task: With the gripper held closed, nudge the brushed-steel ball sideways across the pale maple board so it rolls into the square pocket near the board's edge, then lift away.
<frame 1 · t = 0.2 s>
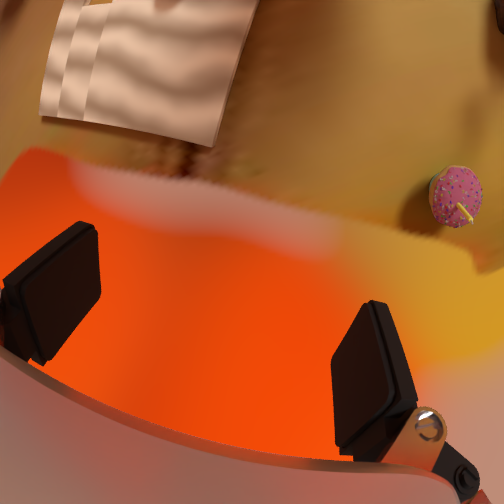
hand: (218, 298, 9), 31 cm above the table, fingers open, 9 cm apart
maple board: (136, 27, 29), on the table
cupcake: (441, 186, 35), on the table
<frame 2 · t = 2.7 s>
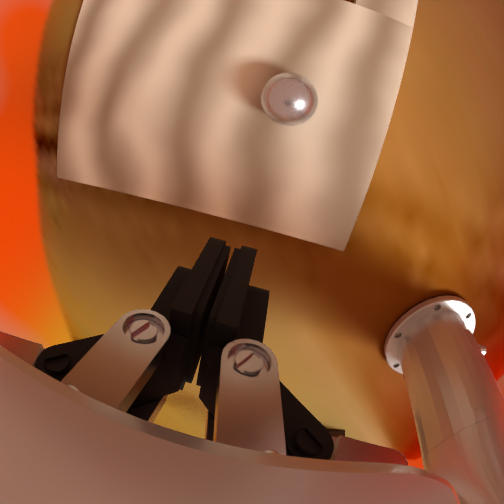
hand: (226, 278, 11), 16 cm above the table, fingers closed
maple board: (221, 31, 19), on the table
steel ball: (289, 99, 18), point 3 cm above the table, touching maple board
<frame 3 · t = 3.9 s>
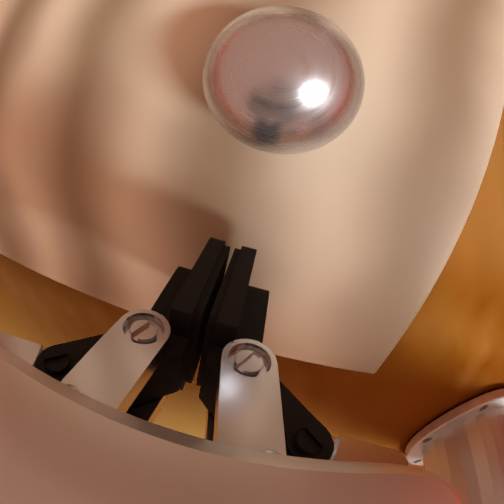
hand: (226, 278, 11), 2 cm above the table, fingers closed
steel ball: (283, 78, 6), point 3 cm above the table, touching maple board
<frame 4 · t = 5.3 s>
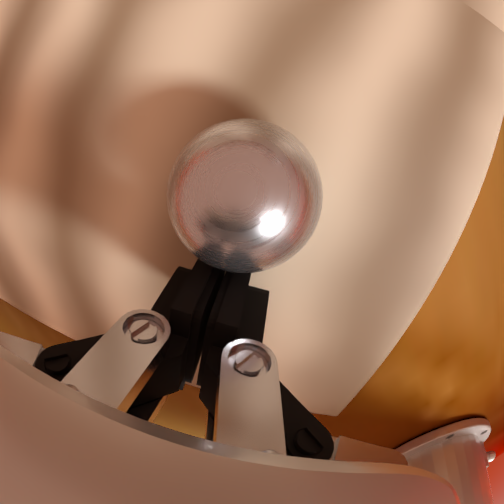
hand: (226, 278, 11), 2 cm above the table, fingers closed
maple board: (117, 42, 9), on the table
steel ball: (244, 195, 8), point 3 cm above the table, tilted 21°, touching maple board
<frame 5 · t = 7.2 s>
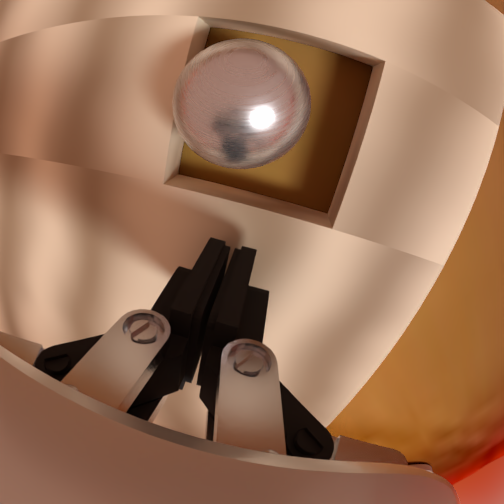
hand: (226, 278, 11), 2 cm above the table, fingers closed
maple board: (96, 254, 13), on the table
steel ball: (241, 102, 8), point 2 cm above the table, tilted 37°
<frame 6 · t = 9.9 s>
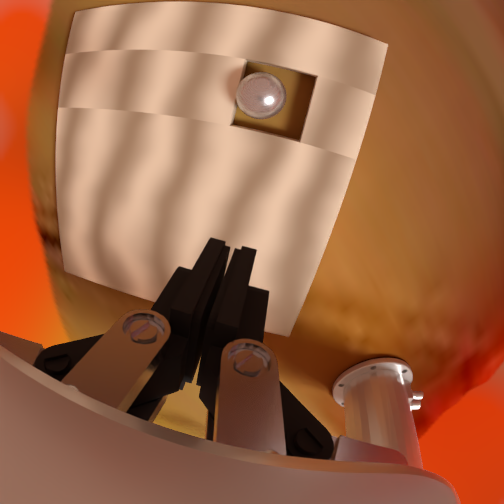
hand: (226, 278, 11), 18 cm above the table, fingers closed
maple board: (181, 167, 27), on the table
steel ball: (261, 95, 21), point 2 cm above the table, tilted 33°
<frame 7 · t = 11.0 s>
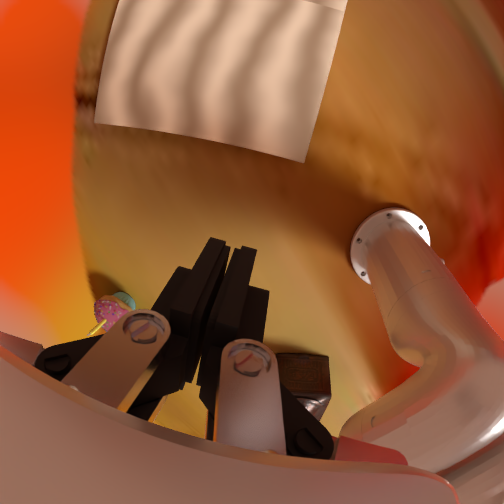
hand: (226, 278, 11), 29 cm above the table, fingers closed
maple board: (217, 22, 28), on the table
coffee grinder: (286, 368, 55), on the table
cupcake: (125, 301, 52), on the table
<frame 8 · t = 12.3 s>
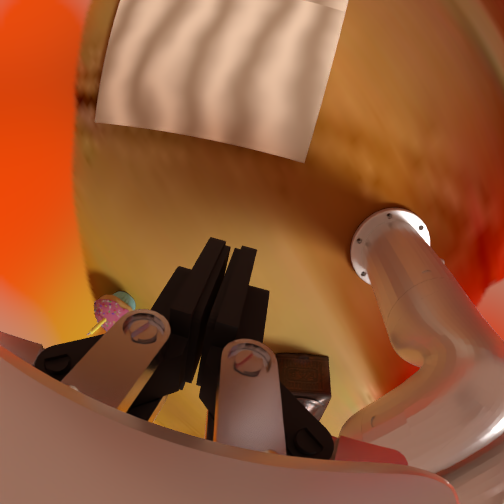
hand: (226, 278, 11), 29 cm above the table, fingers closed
maple board: (218, 22, 28), on the table
coffee grinder: (286, 368, 55), on the table
cupcake: (125, 300, 52), on the table
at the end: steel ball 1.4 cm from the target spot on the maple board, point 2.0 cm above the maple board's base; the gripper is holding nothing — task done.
